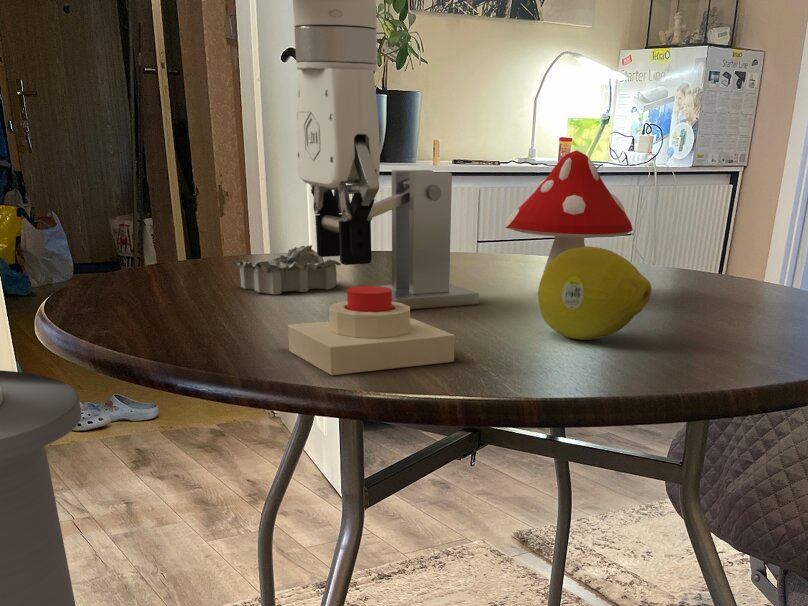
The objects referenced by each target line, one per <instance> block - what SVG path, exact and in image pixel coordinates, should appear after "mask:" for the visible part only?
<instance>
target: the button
mask: <svg viewBox="0 0 808 606" xmlns="http://www.w3.org/2000/svg"><path fill="white" fill-rule="evenodd" d="M380 286H381V285H358V286H351V287H348V288H347V290H346V293H347V294H346V296H347V299H346V301H347V302H348V310H351V311H358V312H385V311H390V310H392V290H391V289H390V288H386V287H380Z"/></svg>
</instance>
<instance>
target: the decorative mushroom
mask: <svg viewBox="0 0 808 606" xmlns="http://www.w3.org/2000/svg"><path fill="white" fill-rule="evenodd" d="M625 211H626V210H625V207H624V205H623V203H622V202H621V201H620V199H619V198H618V197H617V196H616V195H615V194H613V193H611V192H610V190H609V188H608V187H607V186H606V185H605V182H604V181H603V179H602V178H601V175H600V174H599V171H598V169H597V167H596V164H595V163H594V162H593V161H592V160H591V158H590V157H588V155H587V154H585V153H583V152H581V151H579V150H577V149H576V150H573V151H571V152H568V153H566V154H565V155H564V156H563V157H561V158H560V159H559V161H558V162H557V164H556V165H555V166H554V167H553V168H552V170H551V171H550V172H549V174H548V176H546V178H543V180H541V181H540V182H539V184H538V185H537V188H536V189H535V191H534V192H533V193H532V194H531V195H530V196H529V197H528V198H527V199H526V201H524V202H523V203H522V204H521V205H520V206H518V208H517V209H516V210H514V211H513V212H511V214H510V215H509V216H508V218H507V219H506V221H505V225H504V228H505V229H508V230H509V229H510V230H512V231H515V232H518V233H523V234H530V235H537V236H545V237H554V239H553V241H552V242H553V243H552V246H551V249H550V252H549V254H548V257H547V260H546V263H545V266H544V269H543V273H544V271H545V269H546V268H547V266H548V265H549V263H550V262H551V261H552V260H553V259H554V258H555V257H557V256H558V255H559V254H560V253H562V252H564V251H566V250H569V249H573V248H578V247H586V245H585V238H587V239H589V238H591V239H593V238H614V237H624V236H626V235H628V234H630V233H631V232H632V231H634V228H633V225H632V222H631V219H629V217H628V216H627V214H626V212H625ZM543 273H542V274H543Z"/></svg>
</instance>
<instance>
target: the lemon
mask: <svg viewBox="0 0 808 606" xmlns="http://www.w3.org/2000/svg"><path fill="white" fill-rule="evenodd" d="M544 269H545V268H544ZM543 272H544V273H542V276H541V279H540V281H539V285H538V292H537V293H538V294H537V299H538V307H539V311H540V313H541V317H542V319H543V321H544V322H545V323H546V324H547V325H548V326H549V327H550V329H552V330H553V331H554V332H556V333H558V334H560V335H562V336H564V337H566V338H569V339H572V340H582V341H591V340H597V339H601V338H604V337H607V336H611V335H613V334H615V333H617V332H619V331H620V330H622V329H624V328H625V327H626V326H627V325H628V324H629V323H631V322H632V320H633V319H634V317H635V316H637V315H638V314H640V313H641V312H642V311H643V309H644V308H645V307H646V305H647V304H648V302H649V301H650V297H651V294H652V284H651V282H650V280H649V279H648V278H647V277H646V276H644V275H643V274H642V273H641V272H640V271H639V270H638V268H637V267H636V266H635V265H634V264H633V263H632V262H631V261H629V260H628V259H626V258H625V257H623V256H621V255H619V254H618V253H616V252H614V251H612V250H610V249H607V248H603V247H597V246H589V245H588V246H585V247H578V248H573V249H569V250H566V251H564V252H562V253H560V254H559V255H558V256H557V257H555V258H554V259H553V260H552V261H551V262H550V263H549V265H548V266H547V268H546V269H545V271H544V270H543Z"/></svg>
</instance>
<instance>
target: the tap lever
mask: <svg viewBox="0 0 808 606" xmlns="http://www.w3.org/2000/svg"><path fill="white" fill-rule="evenodd" d="M402 184H403V188H404V191H403V192H401V193H398V194H396V195H393V196H392V195H391V196H388V197H386V198H383V199H381V200H379V201H376V202H374V203H373V206H372V213H373V217H372V219H373V218H375V217H377V216H380V215H382V214H385V213H387V212H391V211H392V209H395V208H397V207H400V206H402V205H404V204H408V206H409V203H410V180H407V181H405V182H403V183H402ZM339 221H343V218H342V216H341V217H335V216H331V215H325V216H324V217H323V218H322V220H321V225H322V227H323V228H324V229H325V230H329V231H332V232H336V233H339Z"/></svg>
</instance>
